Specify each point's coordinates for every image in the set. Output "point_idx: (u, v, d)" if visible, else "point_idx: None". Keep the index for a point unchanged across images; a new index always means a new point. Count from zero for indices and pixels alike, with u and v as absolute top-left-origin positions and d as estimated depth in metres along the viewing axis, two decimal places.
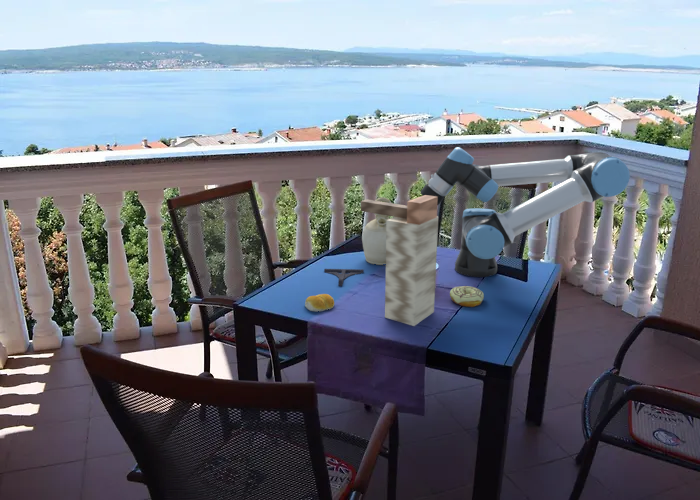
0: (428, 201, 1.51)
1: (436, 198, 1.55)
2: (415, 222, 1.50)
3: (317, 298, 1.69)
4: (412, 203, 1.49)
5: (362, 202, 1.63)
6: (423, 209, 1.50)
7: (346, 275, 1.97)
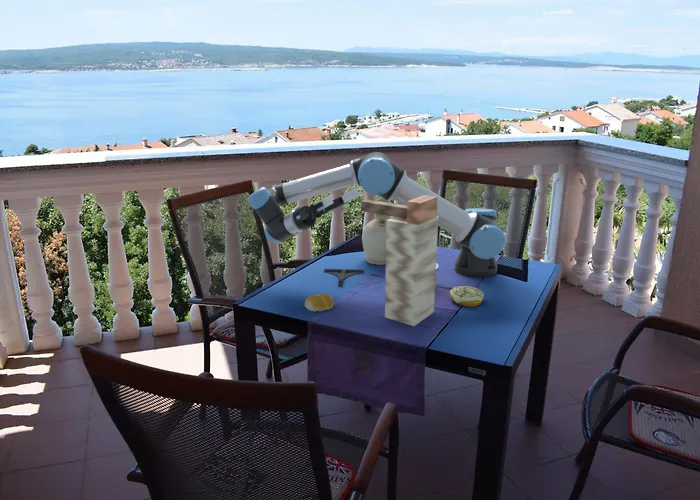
0: (428, 201, 1.51)
1: (436, 198, 1.55)
2: (415, 222, 1.50)
3: (317, 298, 1.69)
4: (412, 203, 1.49)
5: (362, 202, 1.63)
6: (423, 209, 1.50)
7: (346, 275, 1.97)
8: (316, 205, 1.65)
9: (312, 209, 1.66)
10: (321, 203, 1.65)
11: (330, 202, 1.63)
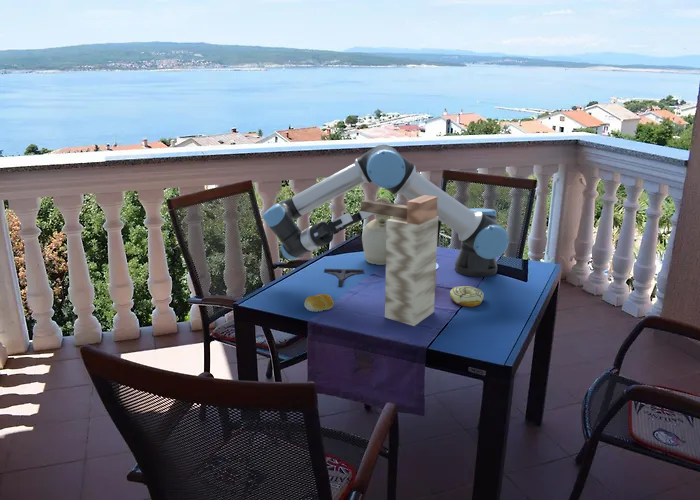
0: (428, 201, 1.51)
1: (436, 198, 1.55)
2: (415, 222, 1.50)
3: (316, 298, 1.69)
4: (412, 203, 1.49)
5: (362, 202, 1.63)
6: (423, 209, 1.50)
7: (346, 275, 1.97)
8: (335, 223, 1.62)
9: (330, 227, 1.63)
10: (340, 220, 1.62)
11: (349, 220, 1.60)
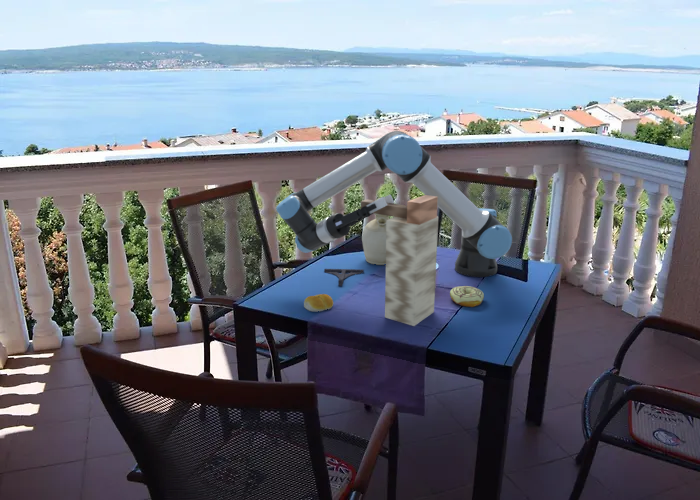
0: (428, 201, 1.51)
1: (436, 198, 1.55)
2: (415, 222, 1.50)
3: (316, 298, 1.69)
4: (412, 203, 1.49)
5: (362, 202, 1.63)
6: (423, 209, 1.50)
7: (346, 275, 1.97)
8: (369, 207, 1.60)
9: (364, 211, 1.61)
10: (374, 205, 1.60)
11: (384, 204, 1.58)
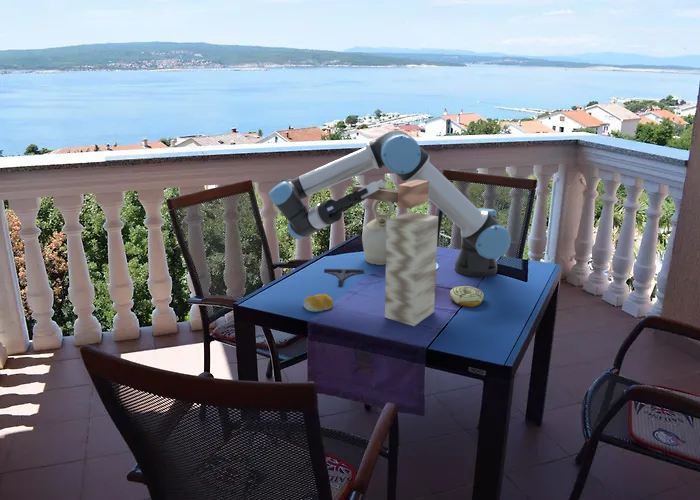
0: (419, 185, 1.51)
1: (427, 182, 1.55)
2: (406, 206, 1.50)
3: (315, 298, 1.69)
4: (403, 187, 1.49)
5: (354, 187, 1.63)
6: (414, 193, 1.50)
7: (346, 275, 1.97)
8: (360, 192, 1.60)
9: (356, 196, 1.61)
10: (365, 190, 1.60)
11: (375, 189, 1.58)
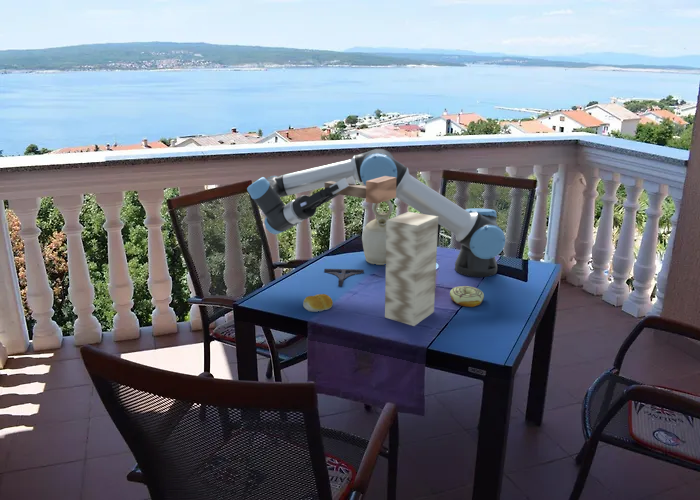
0: (386, 181, 1.58)
1: (395, 179, 1.61)
2: (373, 201, 1.57)
3: (315, 298, 1.69)
4: (370, 183, 1.56)
5: (326, 183, 1.70)
6: (381, 189, 1.56)
7: (346, 275, 1.97)
8: (331, 188, 1.67)
9: (327, 192, 1.67)
10: (336, 186, 1.66)
11: (345, 185, 1.65)
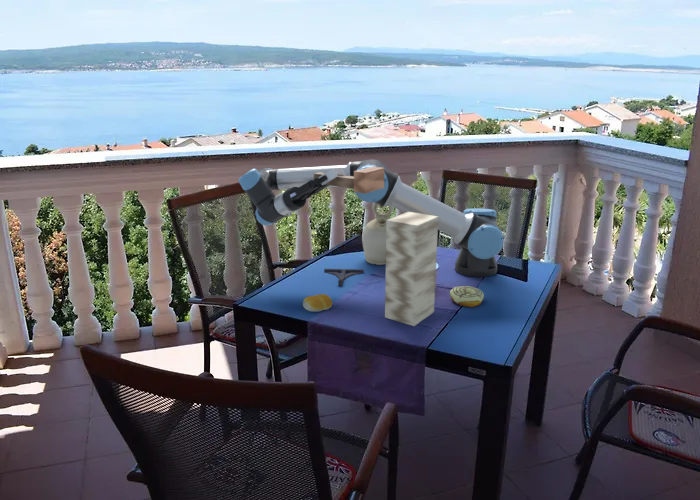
0: (374, 171, 1.60)
1: (383, 169, 1.63)
2: (361, 191, 1.58)
3: (315, 298, 1.69)
4: (358, 173, 1.57)
5: (315, 174, 1.72)
6: (369, 179, 1.58)
7: (346, 275, 1.97)
8: (320, 179, 1.68)
9: (316, 183, 1.69)
10: (325, 177, 1.68)
11: (334, 175, 1.66)
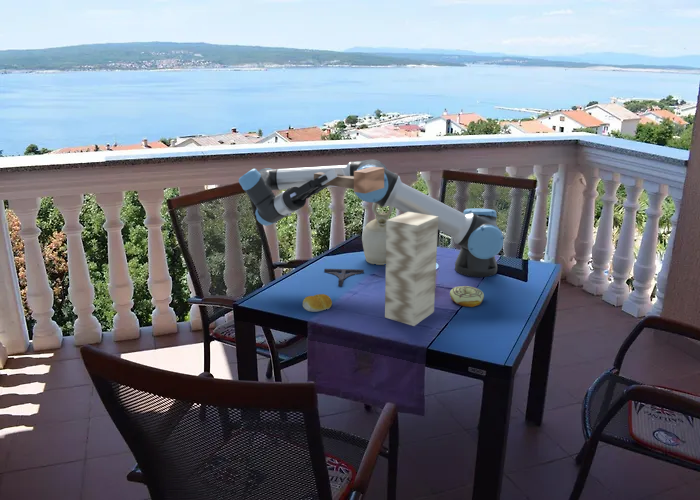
0: (374, 171, 1.60)
1: (383, 169, 1.63)
2: (361, 191, 1.58)
3: (315, 298, 1.69)
4: (358, 173, 1.57)
5: (315, 174, 1.72)
6: (369, 179, 1.58)
7: (346, 275, 1.97)
8: (320, 179, 1.68)
9: (316, 183, 1.69)
10: (325, 177, 1.68)
11: (334, 175, 1.66)
